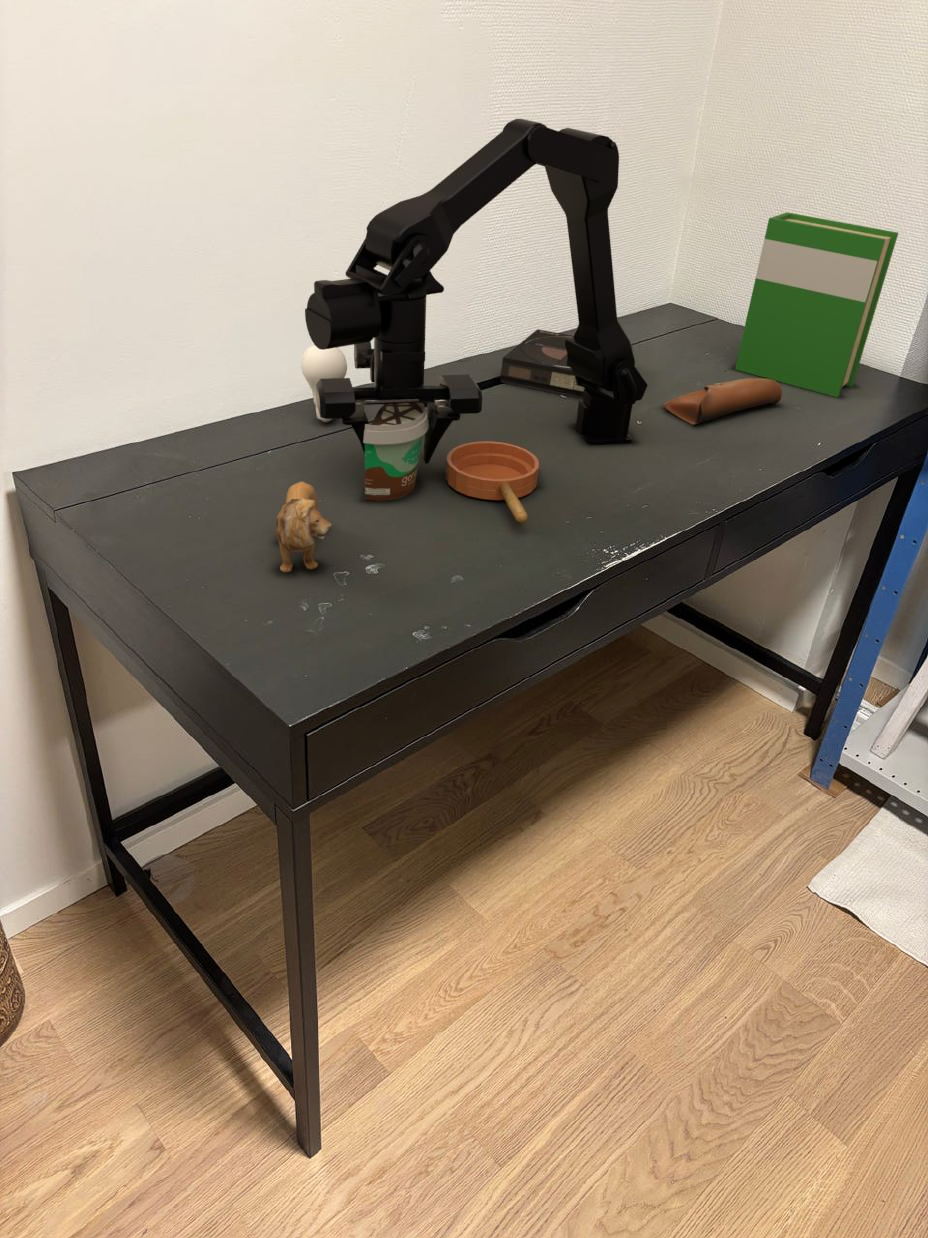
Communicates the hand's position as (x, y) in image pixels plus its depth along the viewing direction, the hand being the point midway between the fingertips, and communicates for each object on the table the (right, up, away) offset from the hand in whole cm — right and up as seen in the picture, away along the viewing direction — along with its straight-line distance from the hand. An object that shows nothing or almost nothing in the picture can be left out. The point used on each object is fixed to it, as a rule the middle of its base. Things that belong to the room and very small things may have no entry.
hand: (398, 463), depth 114 cm
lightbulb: (-11, +8, +17) cm, 22 cm away
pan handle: (+14, -6, -4) cm, 15 cm away
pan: (+11, -2, +4) cm, 12 cm away
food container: (0, -3, +2) cm, 3 cm away
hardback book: (+63, +21, +44) cm, 80 cm away
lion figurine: (-9, -12, -13) cm, 20 cm away
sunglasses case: (+47, +13, +30) cm, 57 cm away
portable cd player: (+24, +20, +38) cm, 49 cm away
